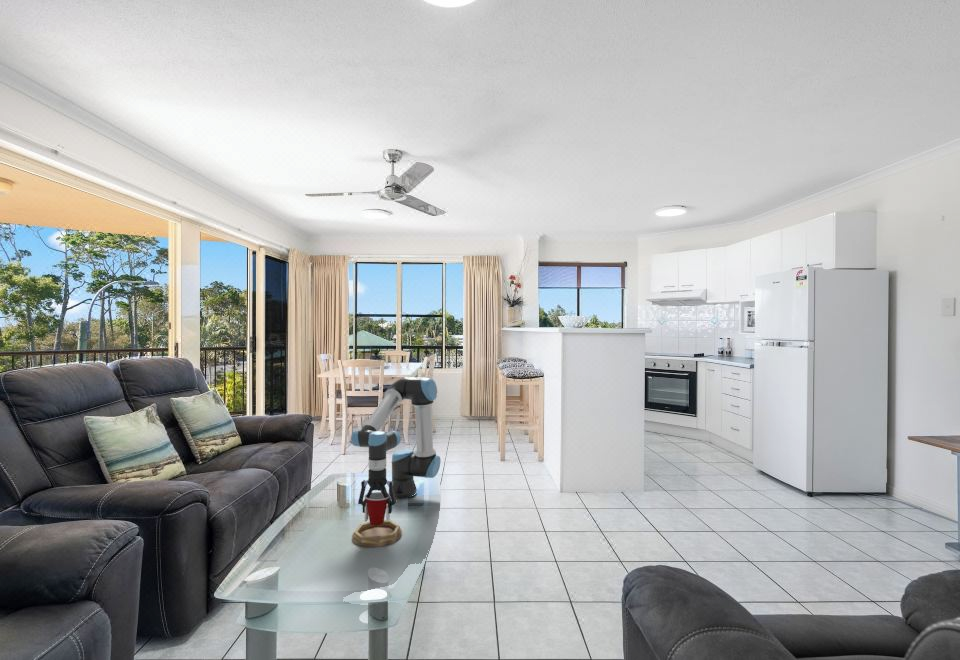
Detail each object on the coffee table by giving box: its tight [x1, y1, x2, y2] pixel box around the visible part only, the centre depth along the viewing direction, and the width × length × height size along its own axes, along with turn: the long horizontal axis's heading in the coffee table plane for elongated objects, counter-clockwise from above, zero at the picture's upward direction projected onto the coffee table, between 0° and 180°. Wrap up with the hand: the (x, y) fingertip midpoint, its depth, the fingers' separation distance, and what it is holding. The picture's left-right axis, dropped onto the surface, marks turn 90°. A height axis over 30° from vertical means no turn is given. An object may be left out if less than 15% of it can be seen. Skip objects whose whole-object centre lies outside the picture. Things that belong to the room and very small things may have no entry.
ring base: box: [351, 519, 403, 548], centre depth 193 cm, size 21×21×3 cm
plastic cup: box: [364, 491, 391, 525], centre depth 193 cm, size 11×11×12 cm
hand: (377, 520), depth 193 cm, fingers closed on plastic cup, 9 cm apart
